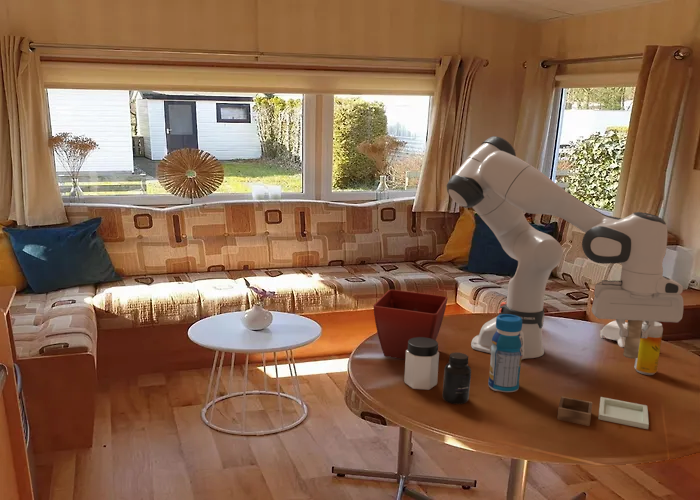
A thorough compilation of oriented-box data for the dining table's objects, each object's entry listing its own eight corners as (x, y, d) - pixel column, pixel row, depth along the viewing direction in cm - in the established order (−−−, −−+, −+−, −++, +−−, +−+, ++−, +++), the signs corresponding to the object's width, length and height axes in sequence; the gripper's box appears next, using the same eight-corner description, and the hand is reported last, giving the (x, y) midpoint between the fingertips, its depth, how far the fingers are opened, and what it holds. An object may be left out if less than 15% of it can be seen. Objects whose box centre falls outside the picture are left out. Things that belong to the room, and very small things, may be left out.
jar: (442, 387, 167) (445, 345, 165) (416, 392, 164) (419, 349, 161) (424, 374, 175) (426, 334, 173) (399, 379, 172) (401, 338, 169)
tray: (598, 421, 151) (599, 414, 151) (599, 403, 161) (600, 396, 161) (647, 431, 147) (648, 424, 146) (646, 412, 157) (647, 405, 156)
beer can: (659, 376, 179) (666, 327, 176) (636, 374, 180) (643, 325, 177) (653, 368, 185) (660, 320, 182) (631, 366, 186) (638, 319, 183)
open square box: (556, 421, 150) (558, 408, 150) (559, 408, 157) (561, 396, 156) (589, 428, 148) (590, 414, 147) (590, 415, 154) (592, 402, 153)
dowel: (623, 357, 150) (628, 317, 148) (623, 352, 153) (628, 314, 150) (637, 359, 148) (643, 319, 146) (637, 355, 151) (643, 316, 149)
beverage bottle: (503, 396, 163) (510, 324, 159) (480, 384, 170) (486, 315, 166) (525, 390, 167) (532, 319, 163) (502, 378, 174) (509, 310, 170)
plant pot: (433, 369, 180) (436, 313, 176) (370, 359, 185) (372, 305, 182) (444, 347, 197) (448, 296, 194) (387, 338, 203) (389, 289, 200)
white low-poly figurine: (600, 348, 209) (639, 346, 196) (594, 323, 210) (634, 320, 197) (616, 344, 213) (656, 342, 200) (610, 320, 214) (650, 316, 201)
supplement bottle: (462, 407, 156) (466, 362, 154) (437, 400, 160) (440, 356, 157) (472, 397, 162) (476, 354, 159) (448, 391, 165) (451, 348, 163)
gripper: (600, 283, 144) (593, 339, 147) (690, 287, 143) (681, 343, 146) (591, 276, 150) (585, 330, 153) (678, 280, 149) (669, 334, 152)
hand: (633, 336), depth 149 cm, fingers closed on dowel, 3 cm apart
